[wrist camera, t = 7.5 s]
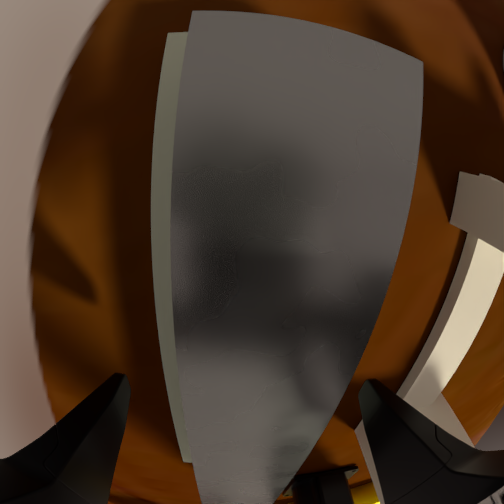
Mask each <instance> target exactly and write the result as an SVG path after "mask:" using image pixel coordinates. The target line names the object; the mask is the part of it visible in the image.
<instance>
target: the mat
mask: <svg viewBox="0 0 504 504" xmlns="http://www.w3.org/2000/svg"><path fill="white" fill-rule="evenodd" d="M187 36H188V32H175V33H168V35H167V40H166V45H165V51H164V57H163V62H162V69H161V75H160V82H159V90H158V98H157V106H156V116H155V126H154V139H153V154H152V176H151V246H152V268H153V284H154V296H155V308H156V318H157V327H158V335H159V343H160V350H161V357H162V364H163V370H164V376H165V382H166V388H167V393H168V398H169V404H170V408H171V413H172V418H173V422H174V427H175V431H176V435H177V440H178V444H179V447H180V451H181V455H182V459H183V462H190V463H192V458H191V453H190V448H189V443H188V437H187V431H186V425H185V419H184V413H183V406H182V399H181V392H180V384H179V376H178V367H177V357H176V347H175V336H174V323H173V307H172V287H171V251H170V218H171V182H172V162H173V147H174V134H175V123H176V113H177V104H178V95H179V87H180V79H181V72H182V65H183V59H184V53H185V47H186V41H187Z"/></svg>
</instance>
